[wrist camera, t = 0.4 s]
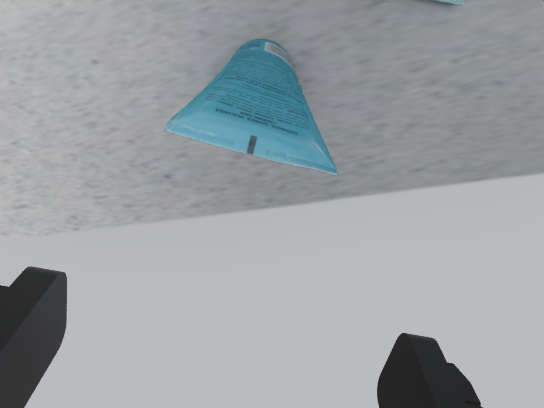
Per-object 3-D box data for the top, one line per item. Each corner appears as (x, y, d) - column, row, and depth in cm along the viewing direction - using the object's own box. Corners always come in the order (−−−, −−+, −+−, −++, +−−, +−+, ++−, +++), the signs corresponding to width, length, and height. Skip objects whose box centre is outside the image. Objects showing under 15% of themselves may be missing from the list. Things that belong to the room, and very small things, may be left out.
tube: (214, 91, 36) (160, 185, 18) (221, 30, 33) (168, 72, 16) (301, 107, 36) (327, 213, 19) (313, 48, 34) (356, 107, 17)
